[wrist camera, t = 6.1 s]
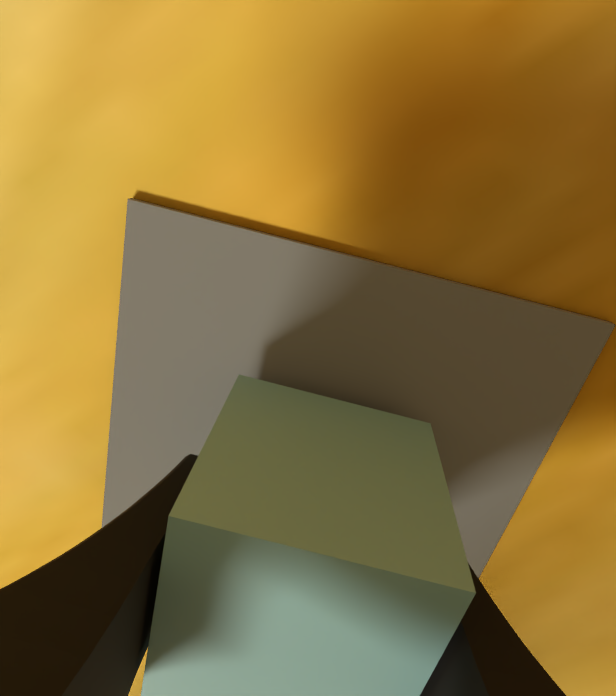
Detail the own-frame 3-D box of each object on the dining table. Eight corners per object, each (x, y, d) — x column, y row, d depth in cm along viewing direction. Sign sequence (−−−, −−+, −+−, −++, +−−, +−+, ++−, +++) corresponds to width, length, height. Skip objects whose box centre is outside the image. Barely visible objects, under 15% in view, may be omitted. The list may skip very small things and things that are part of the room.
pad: (442, 638, 17) (442, 644, 16) (102, 553, 16) (99, 558, 16) (611, 322, 12) (615, 325, 12) (131, 198, 12) (128, 199, 11)
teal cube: (374, 562, 14) (382, 762, 10) (209, 521, 14) (140, 703, 10) (430, 423, 12) (476, 593, 8) (238, 374, 12) (168, 515, 8)
